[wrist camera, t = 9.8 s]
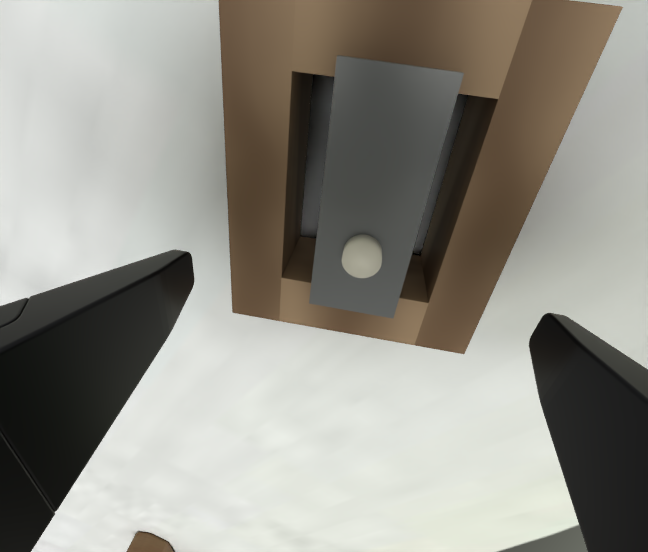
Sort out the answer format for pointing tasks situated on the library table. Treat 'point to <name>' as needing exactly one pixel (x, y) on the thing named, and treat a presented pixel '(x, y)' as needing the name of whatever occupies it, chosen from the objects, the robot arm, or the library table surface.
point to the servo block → (377, 179)
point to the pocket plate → (465, 160)
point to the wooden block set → (148, 543)
